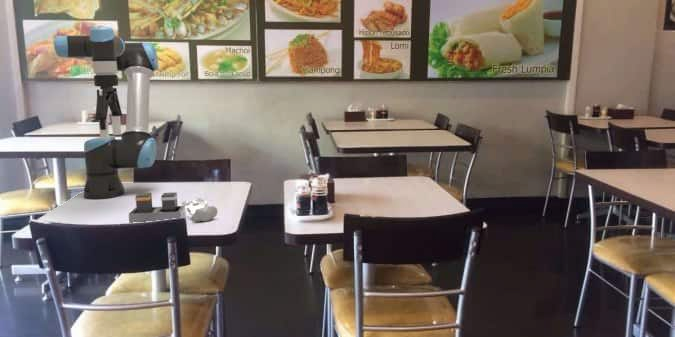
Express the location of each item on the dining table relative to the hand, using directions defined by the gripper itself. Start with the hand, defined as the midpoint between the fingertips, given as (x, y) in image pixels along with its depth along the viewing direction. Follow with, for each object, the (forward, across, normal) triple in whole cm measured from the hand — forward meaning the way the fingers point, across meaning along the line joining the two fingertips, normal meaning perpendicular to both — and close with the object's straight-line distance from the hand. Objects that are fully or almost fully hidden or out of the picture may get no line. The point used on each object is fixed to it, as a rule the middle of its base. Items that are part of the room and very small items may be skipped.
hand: (111, 137), depth 196 cm
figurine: (+27, +12, +30) cm, 42 cm away
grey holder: (+27, +18, +18) cm, 37 cm away
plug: (+26, +18, +14) cm, 34 cm away
